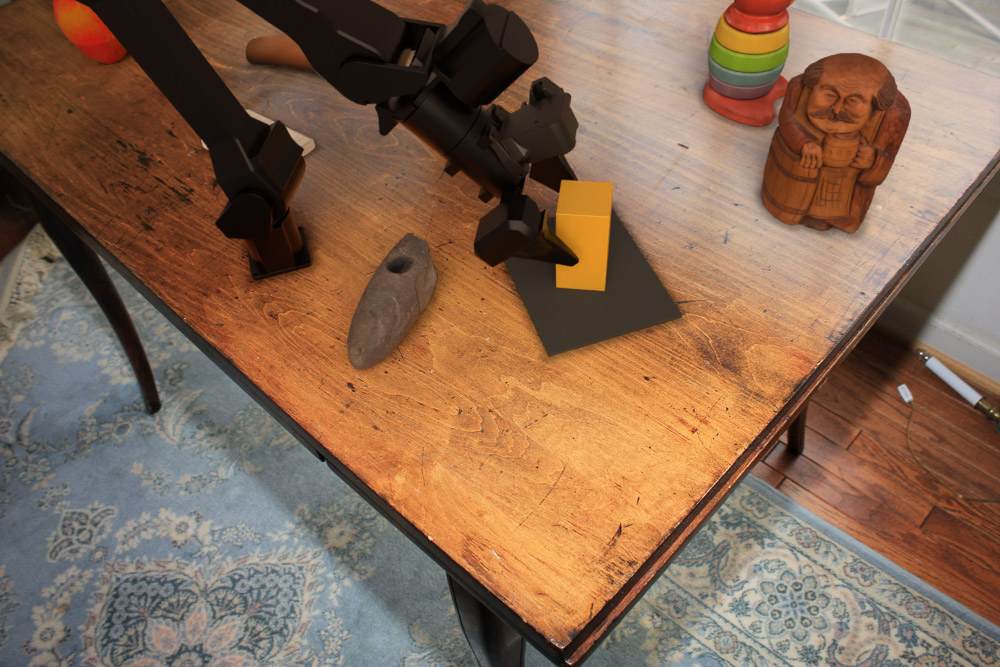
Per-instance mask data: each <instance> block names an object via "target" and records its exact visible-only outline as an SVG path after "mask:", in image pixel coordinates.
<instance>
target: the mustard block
mask: <svg viewBox="0 0 1000 667" xmlns="http://www.w3.org/2000/svg"><path fill="white" fill-rule="evenodd" d="M613 194H614V182H612V181H611V182H608V181H592V180H591V181H590V180H589V181H588V180H579V181H573V180H561V185H560V191H559V193H558V199H557V203H556V211H555V218H556V235H557V236H558V237H559V238H560V239H561V240H562V241H563V242H564V243H565V244H566V245H567V246H568V247H569V248H570V249H571V250H572V251H573V252H574V253H575V254H576V256H577V257H578V258H579V263H577V264H576V265H574V266H572V267H570V266H564V265H559V264H556V287H557V288H570V289H584V290H597V291H605V284H606V274H607V263H608V251H609V237H610V223H611V209H612V208H613Z"/></svg>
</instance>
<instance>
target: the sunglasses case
mask: <svg viewBox="0 0 1000 667" xmlns="http://www.w3.org/2000/svg"><path fill="white" fill-rule="evenodd" d="M244 52H245V58H246V61H247V63H249V64H253V65H254V64H255V65H260V66H261V65H263V66H275V67H282V68H283V67H284V68H288V69H293V70H296V71H303V72H311V73H314V74H317V73H316V72H315V71H314V69H313V68H312V66H311V65H310V63H309V61H308V60H307V58H306V57H305V55H304V53H303V52H302V50H301V49H300V47H299V46H298V45H297V44H296V43H295V42H294V41H293V40H292V39H291V38H289V37H288V36H287V35H286V34H285V33H275V34H274V33H273V34H268V35H261V36H258V37H254V38H252V39H250V40H249V41H247V44H246V47H245V51H244Z"/></svg>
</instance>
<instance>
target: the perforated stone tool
mask: <svg viewBox="0 0 1000 667" xmlns="http://www.w3.org/2000/svg"><path fill="white" fill-rule="evenodd" d="M430 251H431V250H430V245H429V242H428V241H426V239H425V240H424V239H423V238H420V237H419V236H417V235H415V234H414V233H413V232H406V234H405V235H403V237H402V238H400V239H399V240H398V241H397V242H396V243H395V245H394V246H393V247H392V248H391V249H390V250H389V252H388V253H387V254H386V255H385V257H384V259H383V260H381V262H380V264H379V265H378V266H377V268H376V270H375V271H374V273H373V274H372V276H371V278H370V279H369V281H368V283H367V284H366V286H365V288H364V290H363V293H362V294H361V296H360V299H359V301H358V302H357V306H356V308H355V311H354V313H353V316H352V318H351V321H350V326H349V329H348V335H347V342H346V344H347V345H346V346H347V349H346V350H347V357H348V360H349V363H350V364H351V366H352V367H353V369H354V370H357V371H364V370H368V369H371V368H373V367H375V366H377V365H379V364H380V363H381V362H383V361H384V360H385V359H387V357H389V356H390V355H391V354H392V353H393V352H394V351H395V350H396V349H397V347H398V346H399V345H400V344H401V343H402V342H403V340H404V339H405V337H406V336H407V335H408V333H409V332H410V331H411V329H412V328H413V326H414V325H415V323H416V322H417V321H418V319H419V318H420V317H421V315H422V312H423V311H424V310H425V309H426V308H427V306H428V304H429V302H430V301H431V299H432V297H433V295H434V293H435V292H436V288H437V285H438V272H437V270H436V266H435V265H434V262H433V259H432V257H431V254H430Z"/></svg>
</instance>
